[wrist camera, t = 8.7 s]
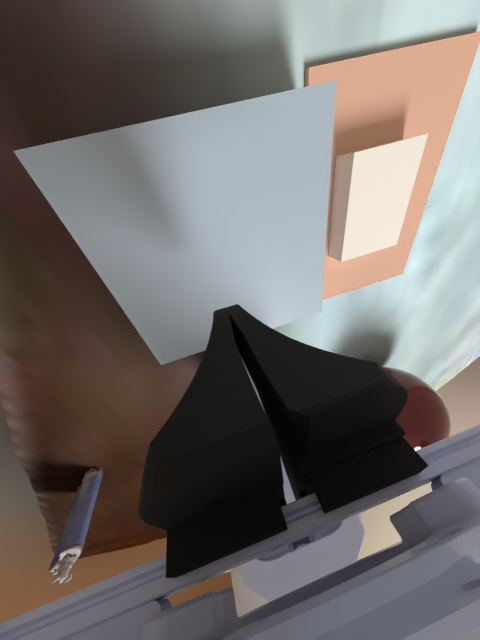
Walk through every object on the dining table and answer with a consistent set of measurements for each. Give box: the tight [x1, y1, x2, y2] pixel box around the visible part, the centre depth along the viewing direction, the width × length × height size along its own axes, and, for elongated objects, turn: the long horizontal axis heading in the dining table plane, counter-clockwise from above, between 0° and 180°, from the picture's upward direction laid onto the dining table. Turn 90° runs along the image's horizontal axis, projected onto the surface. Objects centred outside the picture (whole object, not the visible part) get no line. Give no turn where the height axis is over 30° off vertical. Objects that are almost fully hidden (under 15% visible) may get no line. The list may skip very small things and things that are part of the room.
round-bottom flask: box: [382, 367, 451, 451], centre depth 29 cm, size 13×13×20 cm
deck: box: [14, 80, 337, 365], centre depth 15 cm, size 15×16×4 cm
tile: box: [328, 134, 428, 262], centre depth 17 cm, size 8×6×2 cm
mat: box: [305, 32, 480, 300], centre depth 18 cm, size 18×13×1 cm
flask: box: [49, 468, 103, 583], centre depth 29 cm, size 9×3×11 cm, turn 146°
